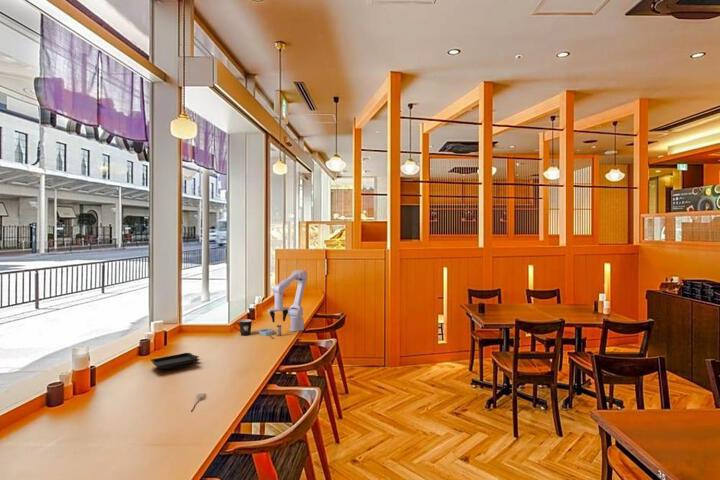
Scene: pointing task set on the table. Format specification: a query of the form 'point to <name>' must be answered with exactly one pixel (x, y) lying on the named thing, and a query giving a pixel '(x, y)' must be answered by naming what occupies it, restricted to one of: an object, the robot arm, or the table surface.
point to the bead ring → (266, 332)
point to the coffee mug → (245, 327)
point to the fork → (199, 396)
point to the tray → (174, 361)
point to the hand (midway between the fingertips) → (278, 321)
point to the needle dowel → (278, 330)
